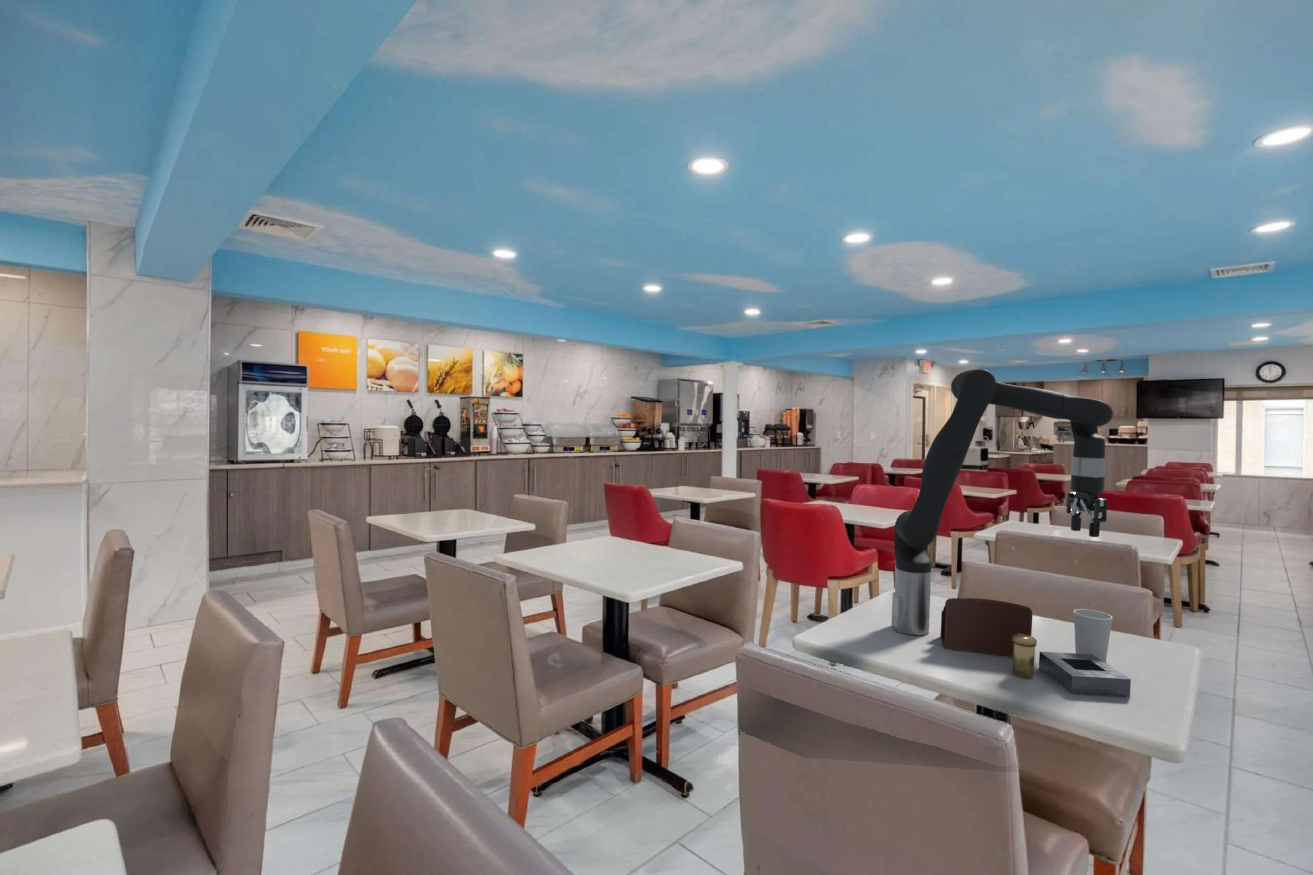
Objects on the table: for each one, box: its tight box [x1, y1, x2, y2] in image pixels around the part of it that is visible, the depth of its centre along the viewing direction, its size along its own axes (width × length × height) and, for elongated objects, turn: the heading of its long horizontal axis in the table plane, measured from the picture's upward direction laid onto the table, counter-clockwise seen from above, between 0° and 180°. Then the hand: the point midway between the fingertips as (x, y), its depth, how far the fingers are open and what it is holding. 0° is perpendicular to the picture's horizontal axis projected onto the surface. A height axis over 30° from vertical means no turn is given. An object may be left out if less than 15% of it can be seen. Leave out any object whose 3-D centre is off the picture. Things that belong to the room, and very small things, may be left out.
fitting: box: [1011, 634, 1038, 680], centre depth 147 cm, size 5×5×9 cm
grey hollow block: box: [1038, 651, 1132, 698], centre depth 144 cm, size 12×14×4 cm
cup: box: [1072, 608, 1113, 663], centre depth 156 cm, size 8×8×12 cm
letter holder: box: [940, 597, 1033, 659], centre depth 164 cm, size 10×20×14 cm, turn 70°
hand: (1084, 533), depth 171 cm, fingers open, 8 cm apart
